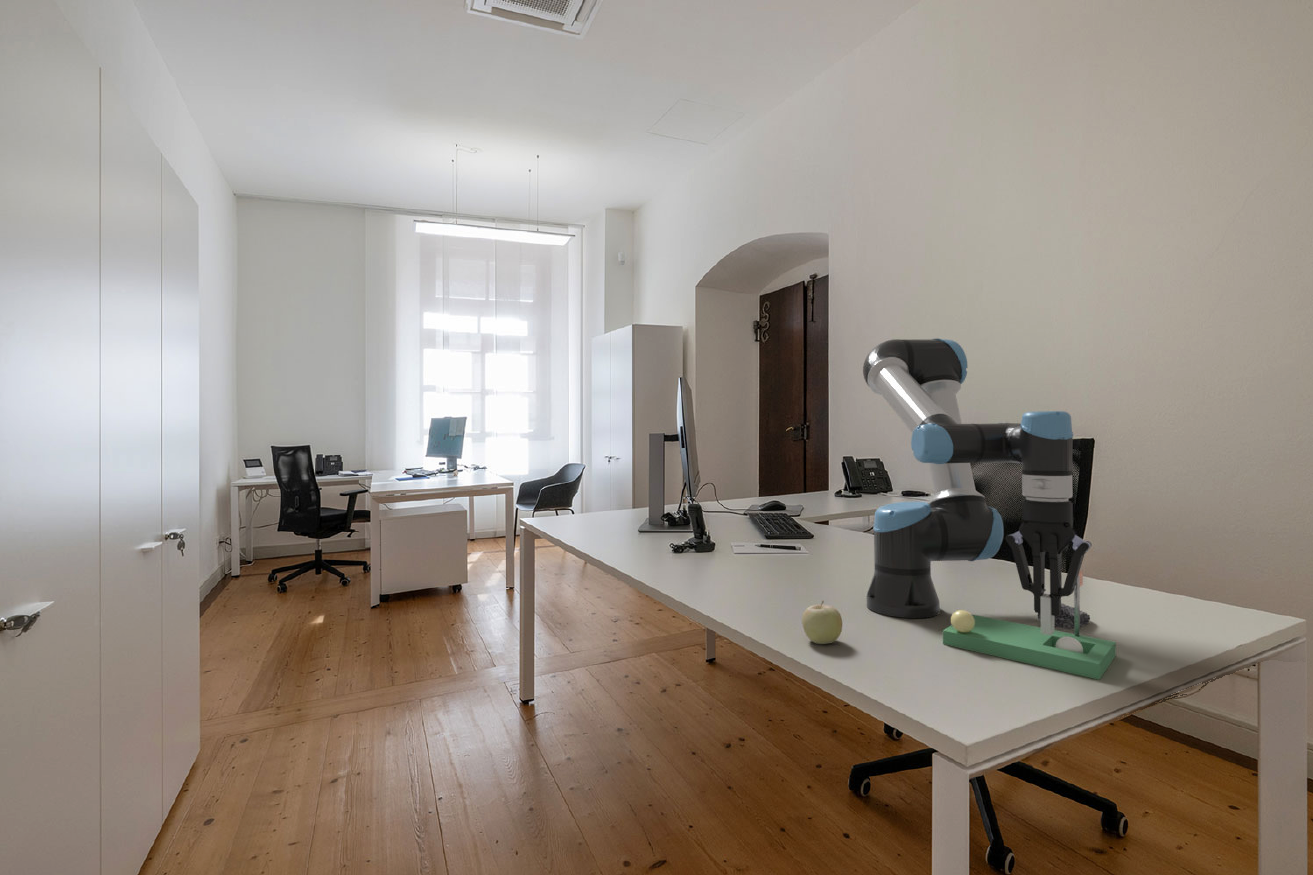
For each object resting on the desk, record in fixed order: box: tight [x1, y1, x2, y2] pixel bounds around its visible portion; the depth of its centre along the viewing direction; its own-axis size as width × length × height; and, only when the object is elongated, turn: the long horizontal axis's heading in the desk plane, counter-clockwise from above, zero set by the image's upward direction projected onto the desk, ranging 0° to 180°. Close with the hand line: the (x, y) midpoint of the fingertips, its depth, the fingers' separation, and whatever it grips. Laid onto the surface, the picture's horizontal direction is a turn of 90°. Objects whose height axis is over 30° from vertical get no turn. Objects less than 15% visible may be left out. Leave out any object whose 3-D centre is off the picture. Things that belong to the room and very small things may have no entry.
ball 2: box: [1055, 637, 1083, 653], centre depth 107 cm, size 4×4×4 cm
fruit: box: [801, 600, 843, 645], centre depth 118 cm, size 8×7×8 cm
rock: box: [1037, 602, 1091, 630], centre depth 128 cm, size 8×10×4 cm
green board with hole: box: [942, 613, 1117, 681], centre depth 112 cm, size 24×14×2 cm, turn 45°
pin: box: [1073, 570, 1084, 637], centre depth 113 cm, size 1×4×11 cm, turn 135°
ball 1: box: [950, 609, 975, 633], centre depth 114 cm, size 4×4×4 cm
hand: (1047, 632), depth 109 cm, fingers closed
